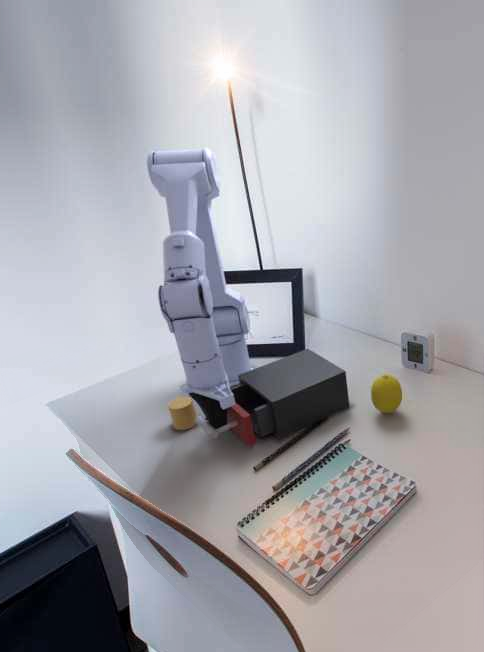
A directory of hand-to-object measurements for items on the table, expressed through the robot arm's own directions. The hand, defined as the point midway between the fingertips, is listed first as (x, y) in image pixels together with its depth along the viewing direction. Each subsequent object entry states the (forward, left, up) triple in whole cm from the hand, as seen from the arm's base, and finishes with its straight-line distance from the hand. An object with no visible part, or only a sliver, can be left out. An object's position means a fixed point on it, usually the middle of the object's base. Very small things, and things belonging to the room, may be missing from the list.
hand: (219, 426), depth 88 cm
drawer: (0, +7, -2) cm, 7 cm away
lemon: (+13, +26, -3) cm, 29 cm away
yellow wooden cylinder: (-10, -2, -3) cm, 11 cm away
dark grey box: (0, +15, -3) cm, 15 cm away
